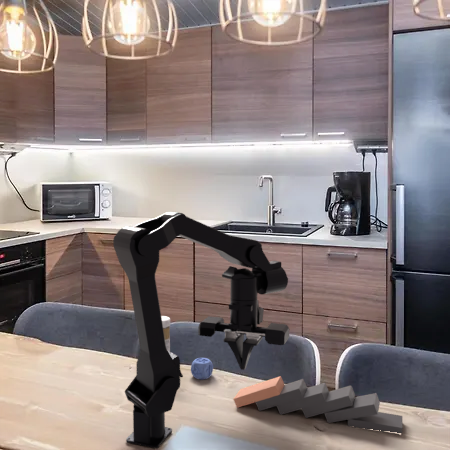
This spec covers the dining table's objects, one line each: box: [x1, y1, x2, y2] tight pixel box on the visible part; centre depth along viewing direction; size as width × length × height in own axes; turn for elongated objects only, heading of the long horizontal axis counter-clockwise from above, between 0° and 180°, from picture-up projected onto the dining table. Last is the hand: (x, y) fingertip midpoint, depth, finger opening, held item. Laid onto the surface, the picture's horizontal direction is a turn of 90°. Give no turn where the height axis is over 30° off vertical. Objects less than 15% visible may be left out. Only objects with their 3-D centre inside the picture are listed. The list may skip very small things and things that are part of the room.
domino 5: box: [324, 392, 381, 424], centre depth 95 cm, size 2×5×10 cm
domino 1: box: [233, 375, 285, 409], centre depth 102 cm, size 2×5×10 cm
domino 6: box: [347, 411, 403, 434], centre depth 94 cm, size 2×5×10 cm
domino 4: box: [301, 385, 356, 419], centre depth 97 cm, size 2×5×10 cm
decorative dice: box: [190, 357, 214, 381], centre depth 117 cm, size 4×4×4 cm
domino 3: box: [276, 382, 329, 416], centre depth 99 cm, size 2×5×10 cm
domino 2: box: [255, 378, 308, 412], centre depth 100 cm, size 2×5×10 cm
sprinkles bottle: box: [161, 315, 171, 352], centre depth 120 cm, size 5×5×14 cm
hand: (243, 369), depth 102 cm, fingers closed
